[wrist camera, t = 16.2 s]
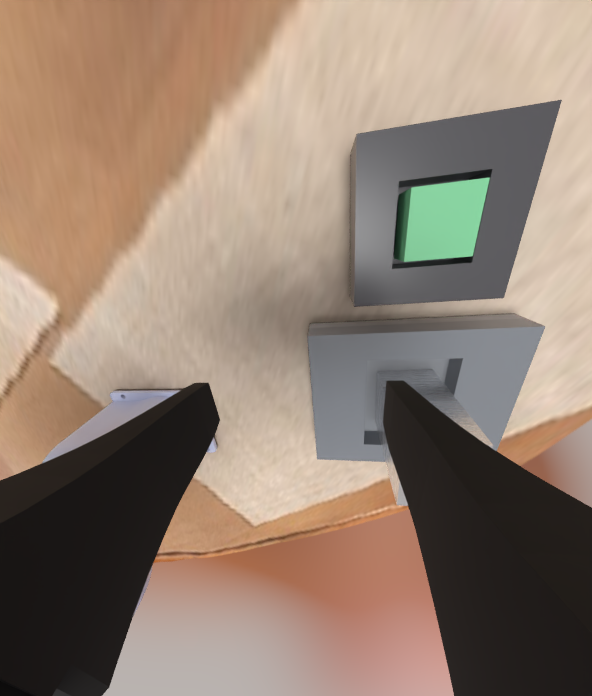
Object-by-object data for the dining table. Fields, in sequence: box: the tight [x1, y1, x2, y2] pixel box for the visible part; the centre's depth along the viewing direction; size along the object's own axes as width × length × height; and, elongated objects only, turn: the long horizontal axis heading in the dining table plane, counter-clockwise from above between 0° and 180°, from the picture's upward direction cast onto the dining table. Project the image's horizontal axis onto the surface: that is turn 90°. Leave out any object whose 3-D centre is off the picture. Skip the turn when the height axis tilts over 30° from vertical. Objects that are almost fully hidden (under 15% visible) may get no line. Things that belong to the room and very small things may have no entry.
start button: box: [394, 177, 490, 262], centre depth 12 cm, size 3×3×2 cm
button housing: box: [350, 100, 562, 307], centre depth 13 cm, size 8×8×3 cm
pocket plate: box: [308, 314, 545, 462], centre depth 18 cm, size 14×12×2 cm
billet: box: [375, 369, 493, 506], centre depth 15 cm, size 4×5×7 cm
